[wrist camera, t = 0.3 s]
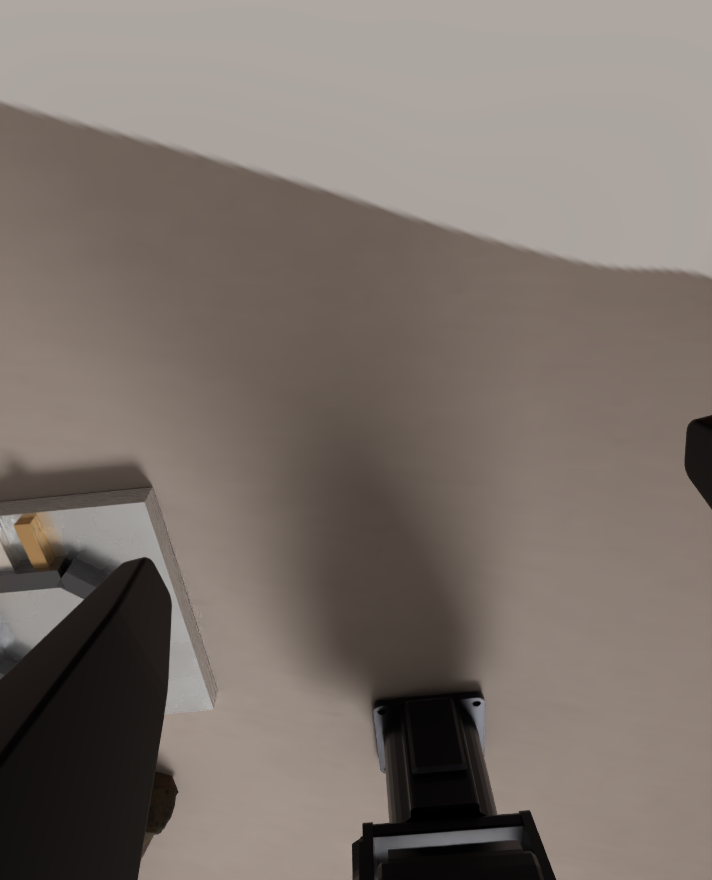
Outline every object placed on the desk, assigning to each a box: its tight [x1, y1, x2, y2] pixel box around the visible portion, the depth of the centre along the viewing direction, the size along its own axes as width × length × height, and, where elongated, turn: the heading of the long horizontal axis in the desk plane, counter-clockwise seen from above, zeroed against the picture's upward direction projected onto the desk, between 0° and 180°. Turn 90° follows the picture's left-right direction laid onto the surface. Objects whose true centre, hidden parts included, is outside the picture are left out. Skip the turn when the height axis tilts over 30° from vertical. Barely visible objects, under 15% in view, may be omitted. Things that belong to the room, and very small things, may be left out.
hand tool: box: [141, 771, 178, 858], centre depth 38 cm, size 19×4×5 cm, turn 153°
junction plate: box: [0, 487, 218, 714], centre depth 28 cm, size 14×12×2 cm
